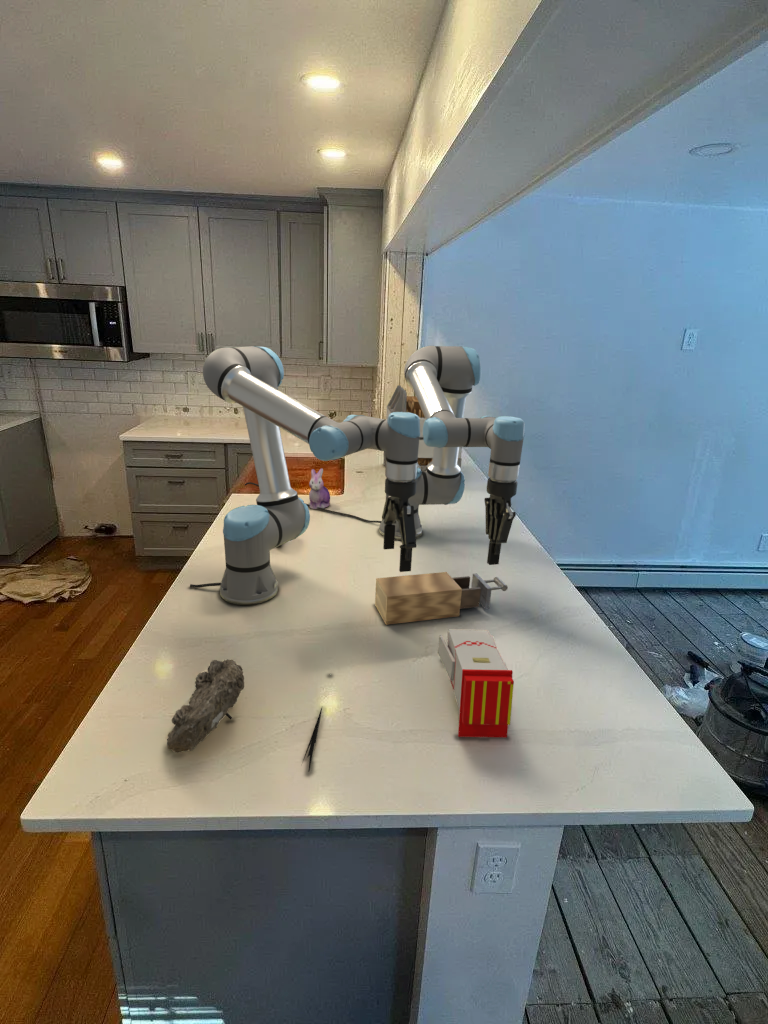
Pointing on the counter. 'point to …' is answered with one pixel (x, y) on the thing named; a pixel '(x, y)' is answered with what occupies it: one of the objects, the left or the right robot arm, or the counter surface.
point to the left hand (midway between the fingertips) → (396, 559)
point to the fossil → (206, 705)
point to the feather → (313, 740)
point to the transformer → (411, 405)
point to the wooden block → (417, 597)
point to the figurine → (318, 491)
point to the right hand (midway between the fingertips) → (492, 563)
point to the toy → (478, 682)
